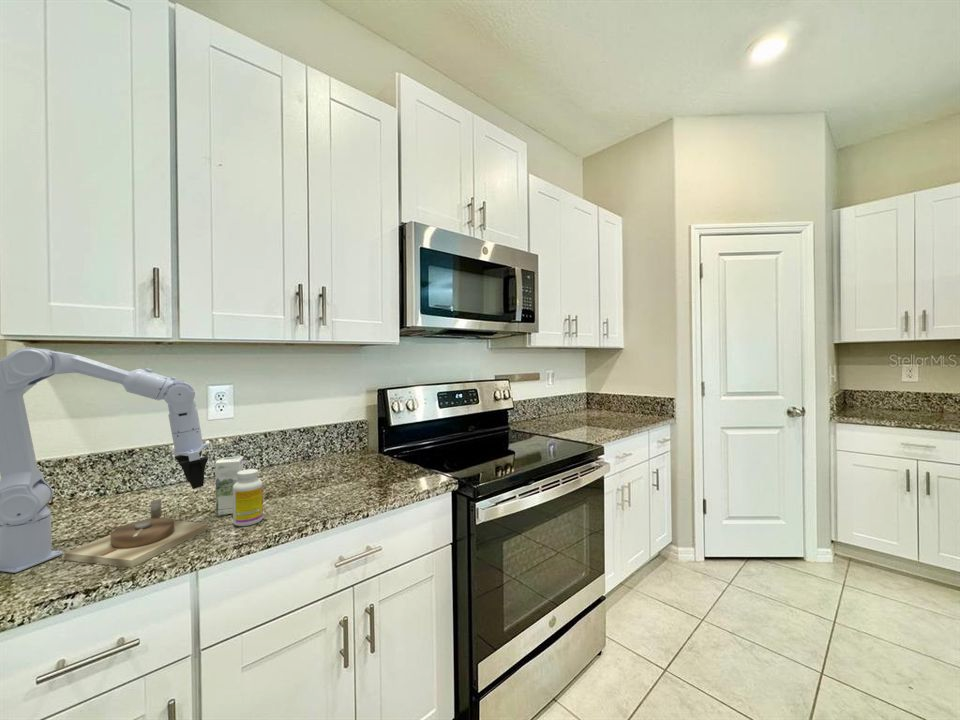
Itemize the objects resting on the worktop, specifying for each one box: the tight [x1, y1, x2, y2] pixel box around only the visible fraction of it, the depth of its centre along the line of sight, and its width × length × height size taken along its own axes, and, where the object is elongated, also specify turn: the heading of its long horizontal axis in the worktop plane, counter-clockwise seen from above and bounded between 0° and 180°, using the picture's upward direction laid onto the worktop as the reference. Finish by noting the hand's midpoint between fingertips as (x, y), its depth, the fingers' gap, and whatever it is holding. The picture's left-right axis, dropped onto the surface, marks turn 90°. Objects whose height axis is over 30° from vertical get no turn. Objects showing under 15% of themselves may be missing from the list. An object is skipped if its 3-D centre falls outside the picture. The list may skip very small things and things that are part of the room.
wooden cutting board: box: [63, 520, 209, 569], centre depth 91 cm, size 17×18×2 cm
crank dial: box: [110, 499, 175, 548], centre depth 93 cm, size 15×11×5 cm
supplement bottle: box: [232, 468, 264, 527], centre depth 103 cm, size 7×7×13 cm
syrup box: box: [214, 455, 244, 517], centre depth 110 cm, size 6×6×14 cm
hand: (195, 483), depth 100 cm, fingers open, 7 cm apart
